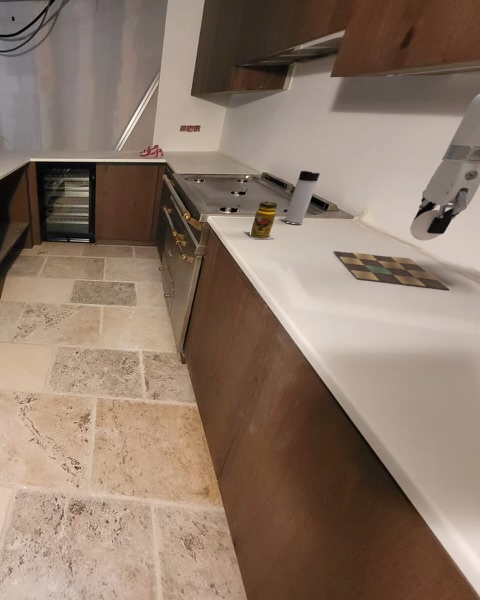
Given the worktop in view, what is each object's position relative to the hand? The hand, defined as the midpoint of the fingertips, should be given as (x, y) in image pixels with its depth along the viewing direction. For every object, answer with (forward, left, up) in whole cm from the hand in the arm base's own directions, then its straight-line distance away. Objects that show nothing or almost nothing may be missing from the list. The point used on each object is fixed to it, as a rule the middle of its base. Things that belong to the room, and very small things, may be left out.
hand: (427, 228), depth 84 cm
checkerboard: (+3, -2, -13) cm, 14 cm away
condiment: (+34, -22, -14) cm, 43 cm away
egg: (0, 0, -3) cm, 3 cm away
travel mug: (+19, -42, -14) cm, 48 cm away
